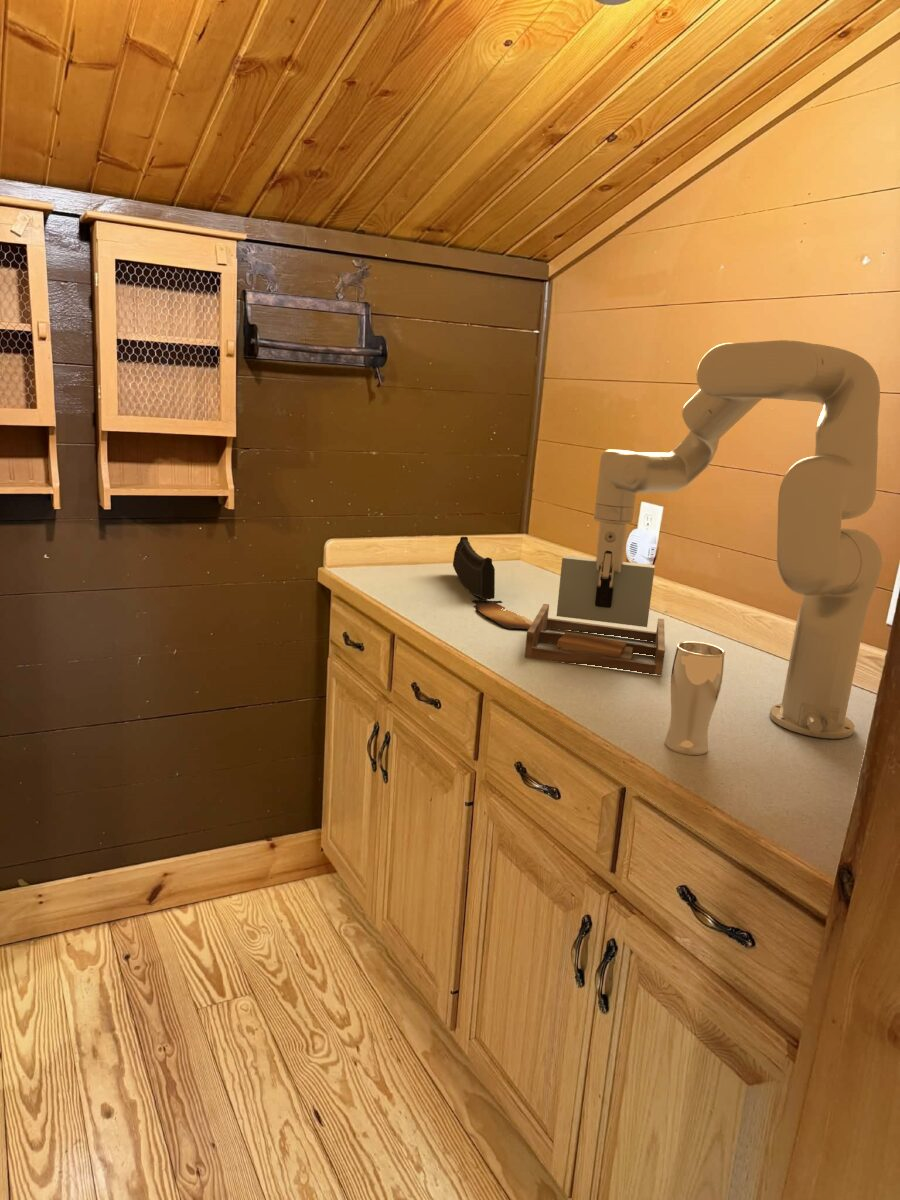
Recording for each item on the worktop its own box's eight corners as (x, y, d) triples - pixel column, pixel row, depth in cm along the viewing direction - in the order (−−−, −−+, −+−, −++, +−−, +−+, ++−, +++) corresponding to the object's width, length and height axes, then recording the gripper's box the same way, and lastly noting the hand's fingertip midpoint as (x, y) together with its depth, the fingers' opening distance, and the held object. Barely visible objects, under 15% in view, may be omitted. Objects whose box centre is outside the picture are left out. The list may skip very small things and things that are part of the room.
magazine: (500, 568, 192) (472, 512, 217) (486, 568, 192) (460, 511, 217) (488, 631, 201) (463, 569, 226) (475, 631, 200) (451, 569, 225)
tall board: (647, 627, 166) (654, 567, 163) (556, 616, 170) (562, 557, 167) (647, 623, 169) (654, 565, 166) (558, 612, 173) (563, 555, 170)
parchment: (545, 632, 177) (546, 628, 177) (503, 632, 174) (503, 628, 174) (500, 603, 200) (501, 600, 200) (462, 603, 197) (462, 599, 196)
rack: (661, 676, 153) (665, 650, 152) (524, 657, 158) (527, 631, 157) (660, 642, 175) (664, 619, 174) (541, 626, 181) (543, 603, 179)
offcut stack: (629, 671, 156) (631, 653, 155) (553, 659, 160) (555, 641, 159) (633, 659, 164) (635, 641, 163) (561, 647, 167) (563, 630, 167)
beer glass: (686, 734, 126) (701, 639, 123) (721, 753, 121) (737, 653, 117) (651, 740, 123) (665, 643, 120) (685, 760, 117) (700, 658, 114)
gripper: (632, 520, 156) (620, 616, 160) (634, 511, 171) (623, 598, 176) (591, 516, 157) (581, 611, 162) (597, 507, 173) (587, 594, 177)
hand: (603, 603), depth 169 cm, fingers closed on tall board, 3 cm apart
